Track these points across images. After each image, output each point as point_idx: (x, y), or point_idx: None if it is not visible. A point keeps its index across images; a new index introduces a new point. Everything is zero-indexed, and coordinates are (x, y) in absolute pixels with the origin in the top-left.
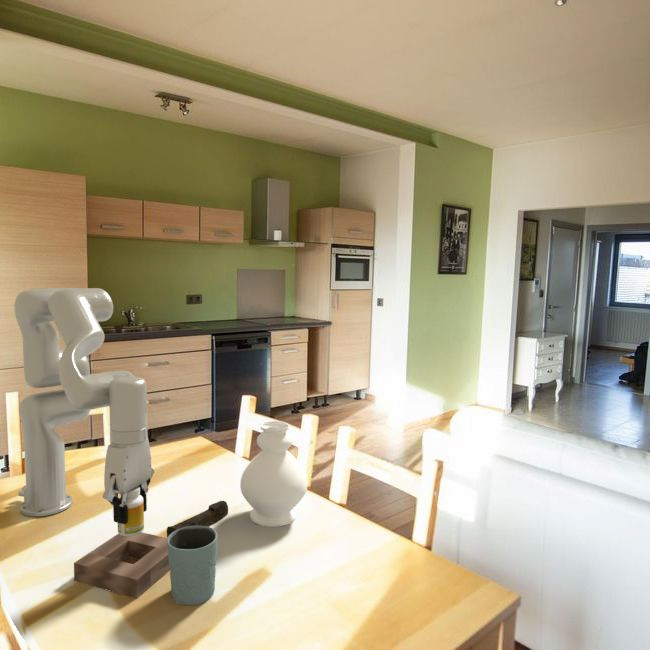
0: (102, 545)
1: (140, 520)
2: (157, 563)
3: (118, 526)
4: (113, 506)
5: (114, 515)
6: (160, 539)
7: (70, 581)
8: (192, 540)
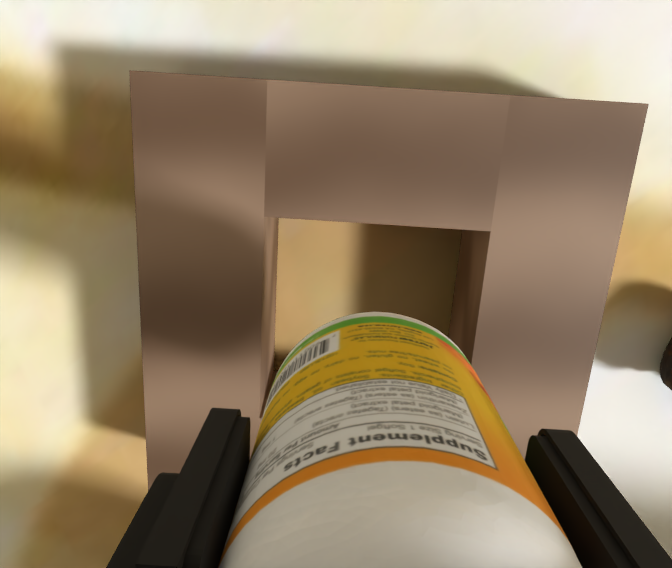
0: (381, 102)
1: None
2: None
3: (275, 387)
4: (155, 528)
5: (144, 502)
6: (552, 408)
7: (161, 63)
8: None
